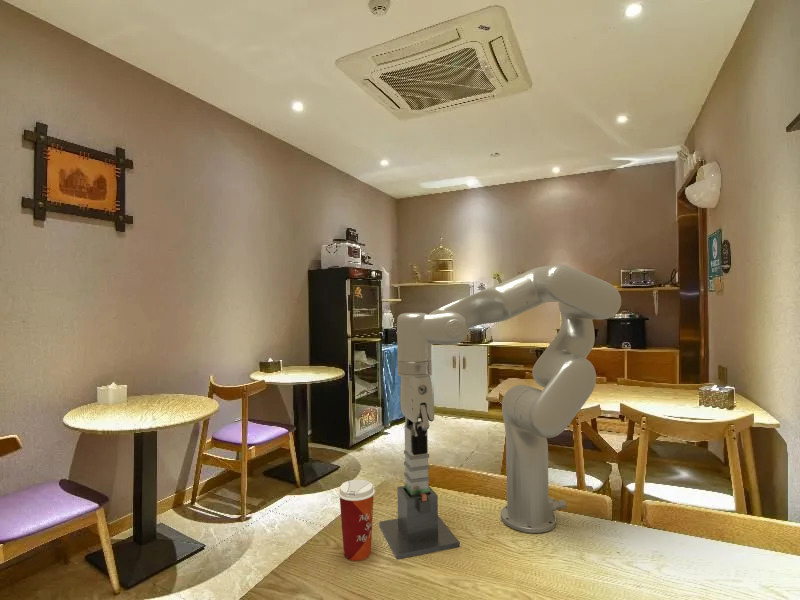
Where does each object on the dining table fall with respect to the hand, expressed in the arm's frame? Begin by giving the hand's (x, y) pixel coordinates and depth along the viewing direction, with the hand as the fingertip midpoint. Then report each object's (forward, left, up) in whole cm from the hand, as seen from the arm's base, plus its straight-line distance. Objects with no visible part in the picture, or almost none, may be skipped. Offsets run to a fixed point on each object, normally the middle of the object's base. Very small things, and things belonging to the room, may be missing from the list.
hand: (416, 449), depth 97 cm
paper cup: (+14, +2, -19) cm, 24 cm away
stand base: (0, 0, -19) cm, 19 cm away
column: (0, 0, -13) cm, 13 cm away
